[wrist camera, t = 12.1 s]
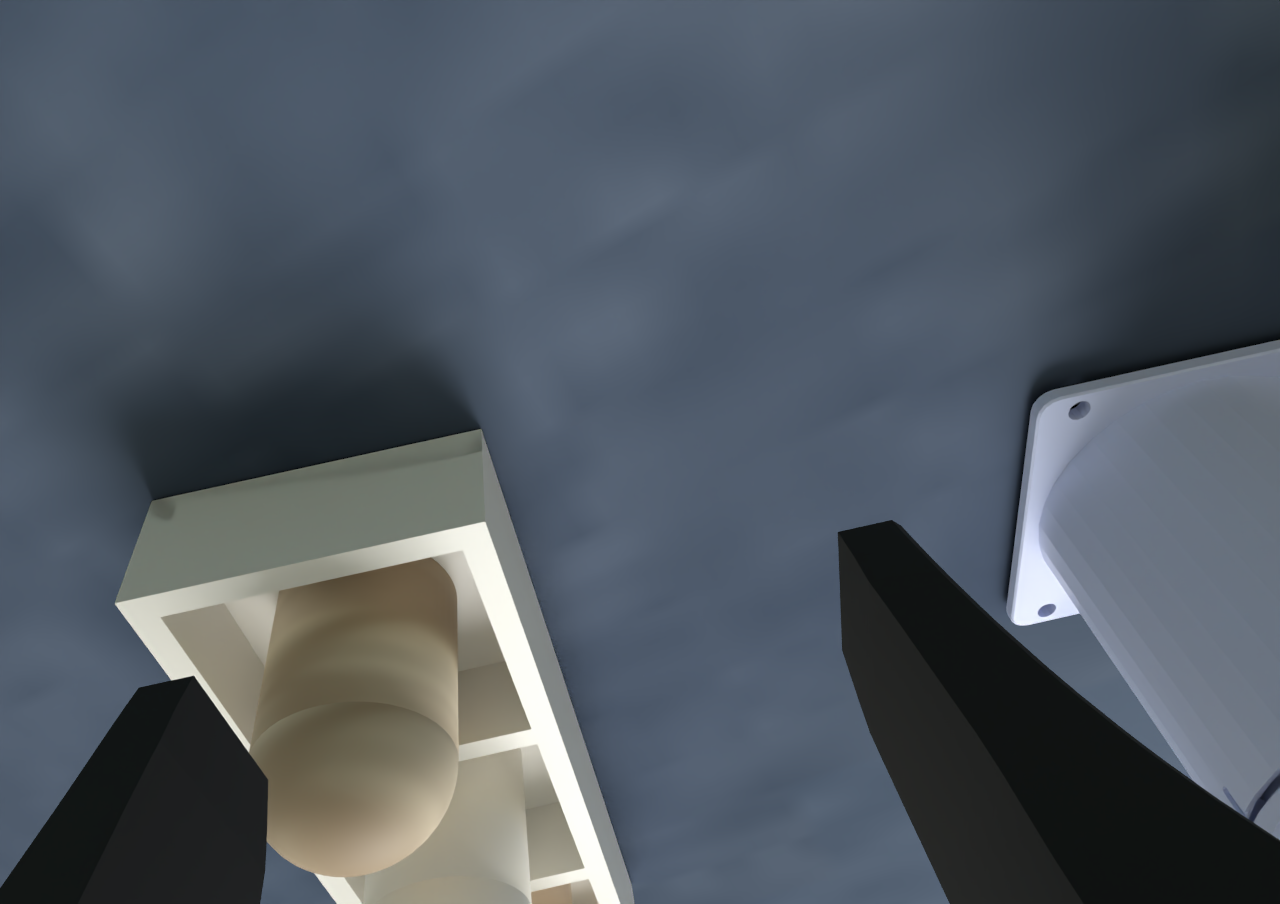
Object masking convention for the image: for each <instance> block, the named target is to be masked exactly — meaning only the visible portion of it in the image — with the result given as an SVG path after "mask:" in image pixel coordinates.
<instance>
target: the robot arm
mask: <svg viewBox="0 0 1280 904" xmlns="http://www.w3.org/2000/svg"><path fill="white" fill-rule="evenodd" d="M1079 402H1080V404H1079V405H1078V406H1076V407H1075V408H1073V409H1071V410H1070V408H1071V407H1072V406H1074V405H1075V404H1076V403H1079ZM838 547H839V574H840V601H841V628H842V651H843V654H844V657H845V660H846V663H847V666H848V669H849V672H850V675H851V678H852V681H853V684H854V687H855V690H856V693H857V696H858V699H859V702H860V705H861V708H862V711H863V713H864V716H865V719H866V722H867V725H868V728H869V731H870V733H871V736H872V738H873V740H874V742H875V744H876V747H877V749H878V751H879V753H880V755H881V758H882V760H883V762H884V764H885V766H886V768H887V770H888V773H889V775H890V777H891V779H892V781H893V783H894V786H895V788H896V790H897V792H898V794H899V796H900V799H901V801H902V803H903V805H904V807H905V809H906V811H907V813H908V816H909V818H910V820H911V822H912V824H913V826H914V828H915V830H916V833H917V835H918V837H919V839H920V841H921V843H922V845H923V848H924V850H925V852H926V854H927V856H928V858H929V860H930V862H931V865H932V867H933V869H934V871H935V873H936V875H937V877H938V879H939V882H940V884H941V886H942V888H943V890H944V892H945V894H946V897H947V899H948V901H949V903H950V904H1280V340H1276V341H1271V342H1267V343H1262V344H1258V345H1253V346H1249V347H1244V348H1240V349H1235V350H1231V351H1226V352H1221V353H1217V354H1212V355H1208V356H1203V357H1199V358H1194V359H1190V360H1185V361H1181V362H1176V363H1172V364H1167V365H1163V366H1158V367H1153V368H1149V369H1144V370H1140V371H1135V372H1131V373H1126V374H1122V375H1117V376H1113V377H1108V378H1104V379H1099V380H1095V381H1090V382H1086V383H1081V384H1076V385H1072V386H1067V387H1063V388H1058V389H1054V390H1051V391H1049V392H1046V393H1044V394H1043V395H1041V396H1040V397H1039V398H1038V399H1037V400H1036V401H1035V403H1034V404H1033V406H1032V409H1031V413H1030V421H1029V429H1028V437H1027V445H1026V454H1025V462H1024V470H1023V478H1022V486H1021V494H1020V502H1019V510H1018V518H1017V526H1016V534H1015V543H1014V551H1013V559H1012V567H1011V575H1010V583H1009V591H1008V599H1007V607H1006V610H1007V614H1008V616H1009V617H1010V619H1011V621H1012V622H1013V623H1014V624H1016V625H1021V626H1022V625H1030V624H1034V623H1039V622H1043V621H1048V620H1052V619H1057V618H1061V617H1065V616H1070V615H1074V614H1079V613H1080V614H1081V616H1082V617H1083V619H1084V620H1085V621H1086V623H1087V624H1088V626H1089V627H1090V629H1091V630H1092V632H1093V633H1094V635H1095V636H1096V638H1097V639H1098V641H1099V642H1100V644H1101V645H1102V647H1103V648H1104V650H1105V651H1106V652H1107V654H1108V655H1109V657H1110V658H1111V660H1112V661H1113V663H1114V664H1115V666H1116V667H1117V669H1118V670H1119V672H1120V673H1121V675H1122V676H1123V678H1124V679H1125V681H1126V682H1127V684H1128V685H1129V686H1130V688H1131V689H1132V691H1133V692H1134V694H1135V695H1136V697H1137V698H1138V700H1139V701H1140V703H1141V704H1142V706H1143V707H1144V709H1145V710H1146V712H1147V713H1148V715H1149V716H1150V717H1151V719H1152V720H1153V722H1154V723H1155V725H1156V726H1157V728H1158V729H1159V731H1160V732H1161V734H1162V735H1163V737H1164V738H1165V740H1166V741H1167V743H1168V744H1169V746H1170V747H1171V748H1172V750H1173V751H1174V753H1175V754H1176V756H1177V757H1178V759H1179V760H1180V762H1181V763H1182V765H1183V766H1184V768H1185V769H1186V771H1187V772H1188V774H1189V775H1190V777H1191V778H1192V779H1193V781H1192V780H1191V779H1189V778H1188V777H1187V776H1185V775H1184V774H1182V773H1181V772H1180V771H1178V770H1177V769H1175V768H1174V767H1172V766H1171V765H1170V764H1168V763H1167V762H1166V761H1164V760H1163V759H1162V758H1160V757H1159V756H1158V755H1156V754H1155V753H1154V752H1152V751H1151V750H1150V749H1148V748H1147V747H1146V746H1144V745H1143V744H1142V743H1140V742H1139V741H1138V740H1136V739H1135V738H1134V737H1133V736H1131V735H1130V734H1129V733H1127V732H1126V731H1125V730H1123V729H1122V728H1121V727H1120V726H1118V725H1117V724H1116V723H1115V722H1113V721H1112V720H1111V719H1110V718H1108V717H1107V716H1106V715H1105V714H1103V713H1102V712H1101V711H1100V710H1098V709H1097V708H1096V707H1095V706H1093V705H1092V704H1091V703H1090V702H1088V701H1087V700H1086V699H1085V698H1084V697H1082V696H1081V695H1080V694H1079V693H1077V692H1076V691H1075V690H1074V689H1073V688H1071V687H1070V686H1069V685H1068V684H1067V683H1065V682H1064V681H1063V680H1062V679H1061V678H1060V677H1058V676H1057V675H1056V674H1055V673H1054V672H1052V671H1051V670H1050V669H1049V668H1048V667H1047V666H1046V665H1044V664H1043V663H1042V662H1041V661H1040V660H1039V659H1038V658H1037V657H1035V656H1034V655H1033V654H1032V653H1031V652H1030V651H1029V650H1028V649H1027V648H1025V647H1024V646H1023V645H1022V644H1021V643H1020V642H1019V641H1018V640H1016V639H1015V638H1014V637H1013V636H1012V635H1011V634H1010V633H1009V632H1007V631H1006V630H1005V629H1004V628H1003V627H1002V626H1001V625H1000V624H999V623H998V622H996V621H995V620H994V619H993V618H992V617H991V616H990V615H989V614H988V613H987V612H986V611H985V610H984V609H983V608H982V607H980V606H979V605H978V604H977V603H976V602H975V601H974V600H973V599H972V598H971V597H970V596H969V595H968V594H967V593H966V592H965V591H964V590H963V589H962V588H961V587H960V586H959V585H958V584H957V583H956V582H955V581H954V580H953V579H952V578H951V577H950V576H949V575H948V574H947V573H946V572H945V571H944V570H943V569H942V568H941V567H940V566H939V565H938V564H937V563H936V562H935V561H934V560H933V559H932V558H931V557H930V556H929V555H928V554H927V553H926V552H925V551H924V550H923V549H922V548H921V547H920V546H919V544H918V543H917V542H916V541H915V540H914V539H913V538H912V537H911V536H910V535H909V534H908V533H907V532H906V531H905V529H904V528H903V527H902V526H901V525H899V524H897V523H896V522H894V521H892V520H890V521H885V522H881V523H876V524H872V525H868V526H863V527H859V528H854V529H850V530H845V531H841V532H838ZM267 814H268V779H267V777H266V776H265V775H264V773H263V772H262V770H261V769H260V768H259V766H258V765H257V763H256V762H255V761H254V759H253V758H252V756H251V755H250V754H249V752H248V751H247V749H246V748H245V747H244V745H243V744H242V742H241V741H240V740H239V738H238V737H237V735H236V734H235V733H234V731H233V730H232V728H231V727H230V726H229V724H228V723H227V721H226V720H225V718H224V717H223V716H222V714H221V713H220V711H219V710H218V709H217V707H216V706H215V704H214V703H213V702H212V700H211V699H210V697H209V696H208V695H207V693H206V692H205V690H204V689H203V688H202V686H201V685H200V683H199V682H198V681H197V679H196V678H195V676H190V677H185V678H181V679H176V680H172V681H167V682H163V683H158V684H154V685H149V686H145V687H140V688H138V690H137V691H136V693H135V694H134V695H133V697H132V698H131V700H130V701H129V702H128V704H127V705H126V707H125V708H124V709H123V711H122V712H121V714H120V715H119V717H118V718H117V719H116V721H115V722H114V724H113V725H112V727H111V728H110V730H109V731H108V733H107V734H106V736H105V737H104V739H103V740H102V741H101V743H100V744H99V746H98V747H97V749H96V750H95V752H94V753H93V755H92V756H91V758H90V759H89V761H88V762H87V764H86V765H85V767H84V768H83V770H82V771H81V773H80V774H79V776H78V777H77V778H76V780H75V781H74V783H73V784H72V786H71V787H70V789H69V790H68V792H67V793H66V795H65V796H64V798H63V799H62V801H61V802H60V803H59V805H58V806H57V808H56V809H55V811H54V812H53V814H52V815H51V816H50V818H49V819H48V821H47V822H46V824H45V825H44V826H43V828H42V829H41V831H40V832H39V834H38V835H37V836H36V838H35V839H34V841H33V842H32V844H31V845H30V846H29V848H28V849H27V851H26V852H25V854H24V855H23V857H22V858H21V859H20V861H19V862H18V864H17V865H16V867H15V868H14V869H13V871H12V872H11V874H10V875H9V877H8V878H7V879H6V881H5V882H4V884H3V885H2V886H1V888H0V904H260V900H261V894H262V887H263V880H264V874H265V860H266V842H267Z"/></svg>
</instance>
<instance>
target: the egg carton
mask: <svg viewBox="0 0 1280 904" xmlns="http://www.w3.org/2000/svg"><path fill="white" fill-rule="evenodd" d="M430 557H431V558H432V559H434V560H435V561H436V562H438V563H439V564H440V565H441V566H442V567H443V568H444V569H445V570H446V572H447V573H448V575H449V576H450V577H451V579H452V581H453V583H454V586H455V589H456V592H457V622H458V740H459V762H458V775H457V782H456V786H455V790H454V793H453V797H452V799H451V802H450V804H449V807H448V809H447V811H446V813H445V815H444V816H443V818H442V820H441V822H440V823H439V825H438V826H437V828H436V829H435V830H434V831H433V833H432V834H431V835H430V836H429V838H428V839H427V840H426V841H425V842H424V843H423V844H422V845H421V846H420V847H419V848H417V849H416V850H415V851H414V852H413V853H412V854H410V855H409V856H407V857H406V858H404V859H403V860H401V861H400V862H398V863H396V864H394V865H392V866H390V867H388V868H386V869H383V870H380V871H377V872H374V873H371V874H367V875H362V876H356V877H330V876H324V875H320V874H316V873H315V875H316V876H317V877H318V879H319V880H320V881H321V883H322V884H323V886H324V887H325V888H326V890H327V891H328V892H329V894H330V895H331V896H332V898H333V899H334V900H335V902H336V903H337V904H634V897H633V890H632V885H631V882H630V879H629V876H628V873H627V870H626V866H625V863H624V860H623V857H622V854H621V851H620V848H619V845H618V842H617V839H616V836H615V833H614V830H613V827H612V824H611V821H610V818H609V815H608V812H607V809H606V806H605V803H604V800H603V797H602V794H601V791H600V788H599V785H598V782H597V779H596V775H595V772H594V769H593V766H592V763H591V760H590V757H589V754H588V751H587V748H586V745H585V742H584V739H583V736H582V733H581V730H580V727H579V724H578V721H577V718H576V715H575V712H574V709H573V706H572V703H571V700H570V697H569V694H568V691H567V688H566V684H565V681H564V678H563V675H562V672H561V669H560V666H559V663H558V660H557V657H556V654H555V651H554V648H553V645H552V642H551V639H550V636H549V633H548V630H547V627H546V624H545V621H544V618H543V615H542V612H541V609H540V606H539V603H538V600H537V596H536V593H535V590H534V587H533V584H532V581H531V578H530V575H529V572H528V569H527V566H526V563H525V560H524V557H523V554H522V551H521V548H520V545H519V542H518V539H517V536H516V533H515V530H514V527H513V524H512V521H511V518H510V515H509V512H508V509H507V505H506V502H505V499H504V496H503V493H502V490H501V487H500V484H499V481H498V478H497V475H496V472H495V469H494V466H493V463H492V460H491V457H490V454H489V451H488V448H487V445H486V442H485V439H484V436H483V433H482V430H481V429H478V430H474V431H469V432H465V433H460V434H455V435H451V436H446V437H442V438H437V439H433V440H428V441H423V442H419V443H414V444H410V445H405V446H401V447H396V448H391V449H387V450H382V451H378V452H373V453H369V454H364V455H359V456H355V457H350V458H346V459H341V460H337V461H332V462H327V463H323V464H318V465H314V466H309V467H305V468H300V469H295V470H291V471H286V472H282V473H277V474H273V475H268V476H263V477H259V478H254V479H250V480H245V481H241V482H236V483H231V484H227V485H222V486H218V487H213V488H209V489H204V490H199V491H195V492H190V493H186V494H181V495H177V496H172V497H167V498H163V499H158V500H154V501H152V502H151V505H150V507H149V510H148V513H147V516H146V518H145V521H144V524H143V527H142V529H141V532H140V535H139V538H138V540H137V543H136V546H135V549H134V551H133V554H132V557H131V560H130V562H129V565H128V568H127V571H126V573H125V576H124V579H123V582H122V584H121V587H120V590H119V593H118V595H117V598H116V601H115V605H116V606H117V607H118V609H119V610H120V611H121V613H122V614H123V615H124V617H125V618H126V619H127V621H128V622H129V624H130V625H131V626H132V628H133V629H134V630H135V632H136V633H137V634H138V636H139V637H140V638H141V640H142V641H143V642H144V644H145V645H146V646H147V648H148V649H149V651H150V652H151V653H152V655H153V656H154V657H155V659H156V660H157V661H158V663H159V664H160V665H161V667H162V668H163V669H164V671H165V672H166V673H167V675H168V676H169V678H170V679H171V680H176V679H181V678H185V677H190V676H195V678H196V679H197V681H198V682H199V683H200V685H201V686H202V688H203V689H204V690H205V692H206V693H207V695H208V696H209V697H210V699H211V700H212V702H213V703H214V704H215V706H216V707H217V709H218V710H219V711H220V713H221V714H222V716H223V717H224V718H225V720H226V721H227V723H228V724H229V726H230V727H231V728H232V730H233V731H234V733H235V734H236V735H237V737H238V738H239V740H240V741H241V742H242V744H243V745H244V747H245V748H246V749H247V751H248V752H249V749H250V744H251V739H252V733H253V728H254V723H255V717H256V712H257V707H258V701H259V696H260V691H261V685H262V680H263V675H264V669H265V664H266V659H267V653H268V648H269V643H270V637H271V632H272V627H273V621H274V616H275V611H276V605H277V600H278V595H279V591H281V590H285V589H290V588H294V587H299V586H303V585H308V584H312V583H317V582H321V581H326V580H330V579H335V578H339V577H344V576H348V575H353V574H357V573H362V572H367V571H371V570H376V569H380V568H385V567H389V566H394V565H398V564H403V563H407V562H412V561H416V560H421V559H425V558H430Z"/></svg>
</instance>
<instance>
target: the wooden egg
mask: <svg viewBox="0 0 1280 904" xmlns="http://www.w3.org/2000/svg"><path fill="white" fill-rule="evenodd" d="M249 754H250V755H251V756H252V758H253V759H254V761H255V762H256V763H257V765H258V766H259V768H260V769H261V770H262V772H263V773H264V775H265V776H266V777H267V779H268V814H267V842H268V843H269V844H270V845H271V846H272V847H273V848H274V849H275V850H276V851H277V852H278V853H279V854H280V855H281V856H282V857H283V858H285V859H286V860H288V861H289V862H291V863H293V864H294V865H296V866H298V867H300V868H302V869H304V870H307V871H310V872H313V873H316V874H320V875H324V876H330V877H356V876H362V875H367V874H371V873H374V872H377V871H380V870H383V869H386V868H388V867H390V866H392V865H394V864H396V863H398V862H400V861H401V860H403V859H404V858H406V857H407V856H409V855H410V854H412V853H413V852H414V851H415V850H416V849H417V848H419V847H420V846H421V845H422V844H423V843H424V842H425V841H426V840H427V839H428V838H429V836H430V835H431V834H432V833H433V831H434V830H435V829H436V828H437V826H438V825H439V823H440V822H441V820H442V818H443V816H444V815H445V813H446V811H447V809H448V807H449V804H450V802H451V799H452V797H453V793H454V790H455V786H456V782H457V775H458V762H459V740H458V622H457V592H456V589H455V586H454V583H453V581H452V579H451V577H450V576H449V575H448V573H447V572H446V570H445V569H444V568H443V567H442V566H441V565H440V564H439V563H438V562H436V561H435V560H434V559H432V558H431V557H430V558H425V559H421V560H416V561H412V562H407V563H403V564H398V565H394V566H389V567H385V568H380V569H376V570H371V571H367V572H362V573H357V574H353V575H348V576H344V577H339V578H335V579H330V580H326V581H321V582H317V583H312V584H308V585H303V586H299V587H294V588H290V589H285V590H281V591H279V595H278V600H277V605H276V611H275V616H274V621H273V627H272V632H271V637H270V643H269V648H268V653H267V659H266V664H265V669H264V675H263V680H262V685H261V691H260V696H259V701H258V707H257V712H256V717H255V723H254V728H253V733H252V739H251V744H250V749H249Z"/></svg>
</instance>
